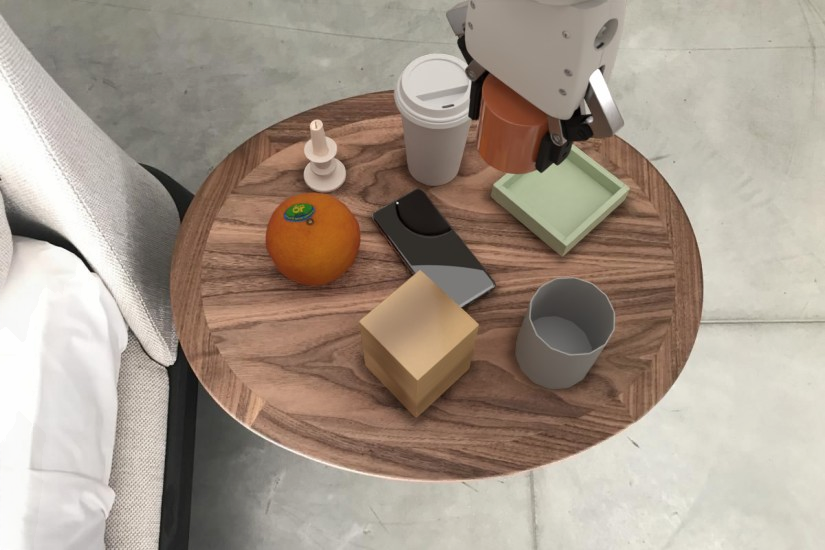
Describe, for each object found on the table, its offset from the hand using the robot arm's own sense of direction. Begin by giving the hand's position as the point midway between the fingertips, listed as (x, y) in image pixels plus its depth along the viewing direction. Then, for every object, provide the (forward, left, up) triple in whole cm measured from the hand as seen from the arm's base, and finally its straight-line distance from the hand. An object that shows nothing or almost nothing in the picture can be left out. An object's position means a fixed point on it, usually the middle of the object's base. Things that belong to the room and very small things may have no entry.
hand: (516, 133), depth 58 cm
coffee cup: (+16, -8, -28) cm, 33 cm away
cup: (-11, 0, -28) cm, 30 cm away
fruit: (+16, +11, -28) cm, 34 cm away
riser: (-2, +12, -28) cm, 30 cm away
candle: (+24, +3, -28) cm, 37 cm away
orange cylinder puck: (0, 0, -1) cm, 1 cm away
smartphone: (+7, +1, -28) cm, 29 cm away
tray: (+2, -15, -28) cm, 32 cm away
